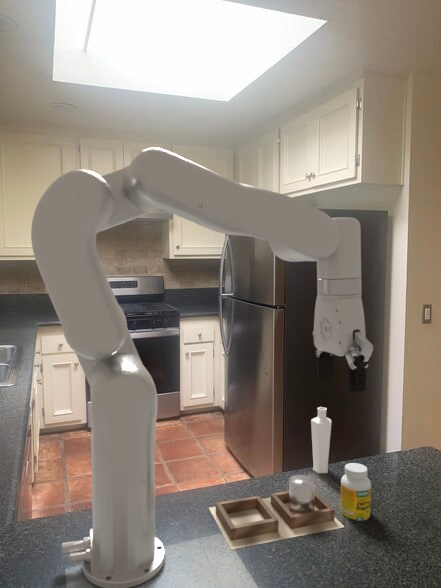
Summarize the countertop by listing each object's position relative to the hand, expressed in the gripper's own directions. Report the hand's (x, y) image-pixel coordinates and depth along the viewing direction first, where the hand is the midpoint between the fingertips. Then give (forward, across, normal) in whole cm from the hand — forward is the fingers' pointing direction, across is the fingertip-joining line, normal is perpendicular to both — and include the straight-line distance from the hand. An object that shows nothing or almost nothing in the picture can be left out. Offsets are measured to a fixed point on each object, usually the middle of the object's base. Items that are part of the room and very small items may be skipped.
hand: (340, 383), depth 80 cm
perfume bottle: (+26, -17, +6) cm, 31 cm away
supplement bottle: (+26, 0, +3) cm, 26 cm away
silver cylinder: (+24, -3, -7) cm, 25 cm away
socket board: (+25, -3, -12) cm, 28 cm away
